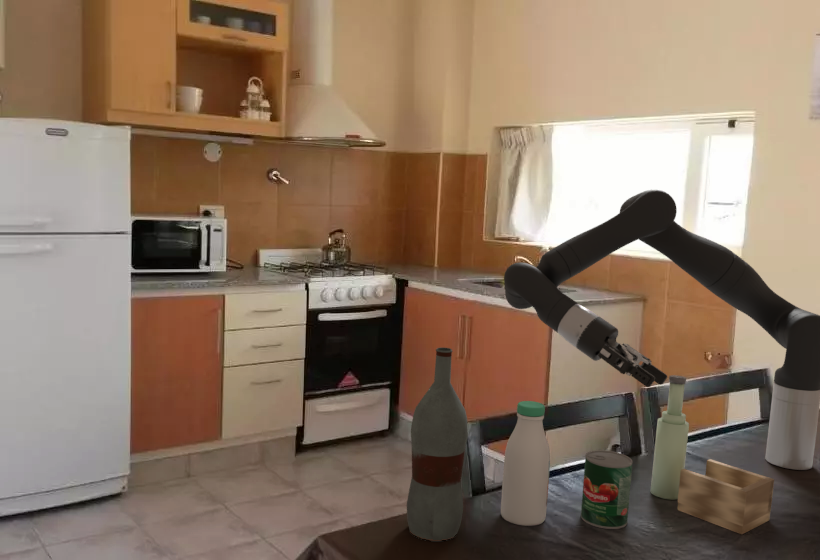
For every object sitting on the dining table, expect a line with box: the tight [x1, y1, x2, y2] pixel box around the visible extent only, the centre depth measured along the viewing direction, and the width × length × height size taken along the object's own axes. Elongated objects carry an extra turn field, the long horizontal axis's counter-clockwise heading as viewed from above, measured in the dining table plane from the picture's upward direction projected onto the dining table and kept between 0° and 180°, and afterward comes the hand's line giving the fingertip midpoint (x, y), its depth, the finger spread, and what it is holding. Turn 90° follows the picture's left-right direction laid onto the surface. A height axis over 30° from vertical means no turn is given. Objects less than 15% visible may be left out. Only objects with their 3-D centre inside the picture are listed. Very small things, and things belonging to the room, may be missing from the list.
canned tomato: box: [580, 449, 633, 530], centre depth 135 cm, size 8×8×11 cm
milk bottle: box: [500, 400, 551, 527], centre depth 133 cm, size 8×8×20 cm
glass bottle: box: [650, 374, 690, 501], centre depth 147 cm, size 6×6×22 cm
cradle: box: [677, 458, 775, 535], centre depth 139 cm, size 12×10×8 cm
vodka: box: [406, 347, 469, 540], centre depth 125 cm, size 9×9×30 cm
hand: (658, 381), depth 144 cm, fingers open, 8 cm apart
